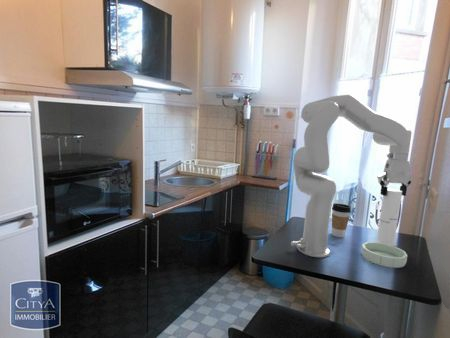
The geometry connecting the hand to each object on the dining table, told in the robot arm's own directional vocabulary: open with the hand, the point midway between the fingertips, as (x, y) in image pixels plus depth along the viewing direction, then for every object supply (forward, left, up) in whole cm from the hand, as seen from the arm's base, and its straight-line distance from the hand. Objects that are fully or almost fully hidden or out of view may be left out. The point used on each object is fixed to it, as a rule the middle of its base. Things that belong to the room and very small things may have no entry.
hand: (393, 195), depth 135 cm
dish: (-13, -15, -23) cm, 30 cm away
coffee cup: (-17, +11, -23) cm, 31 cm away
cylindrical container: (0, 0, -23) cm, 23 cm away
